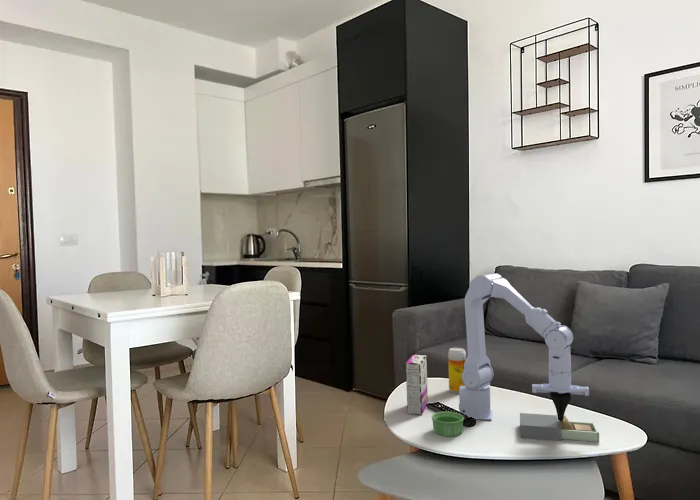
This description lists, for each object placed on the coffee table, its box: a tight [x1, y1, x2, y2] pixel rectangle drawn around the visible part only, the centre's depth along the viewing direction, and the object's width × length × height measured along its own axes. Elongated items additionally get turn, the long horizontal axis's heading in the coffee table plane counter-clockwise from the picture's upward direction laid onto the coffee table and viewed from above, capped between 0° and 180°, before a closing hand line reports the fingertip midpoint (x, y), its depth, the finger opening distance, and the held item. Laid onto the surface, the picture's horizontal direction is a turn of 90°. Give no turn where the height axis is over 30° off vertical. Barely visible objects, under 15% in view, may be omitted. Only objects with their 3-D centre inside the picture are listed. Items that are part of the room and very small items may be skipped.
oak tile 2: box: [574, 424, 592, 432], centre depth 145 cm, size 4×4×2 cm
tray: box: [558, 420, 600, 443], centre depth 145 cm, size 10×8×2 cm
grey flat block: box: [519, 412, 562, 441], centre depth 148 cm, size 10×10×4 cm
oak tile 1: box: [559, 414, 574, 430], centre depth 146 cm, size 4×4×2 cm
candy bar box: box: [405, 354, 429, 416], centre depth 170 cm, size 11×5×16 cm, turn 162°
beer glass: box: [447, 347, 467, 394], centre depth 188 cm, size 6×6×15 cm
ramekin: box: [431, 411, 465, 438], centre depth 150 cm, size 9×9×4 cm
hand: (560, 419), depth 146 cm, fingers closed
